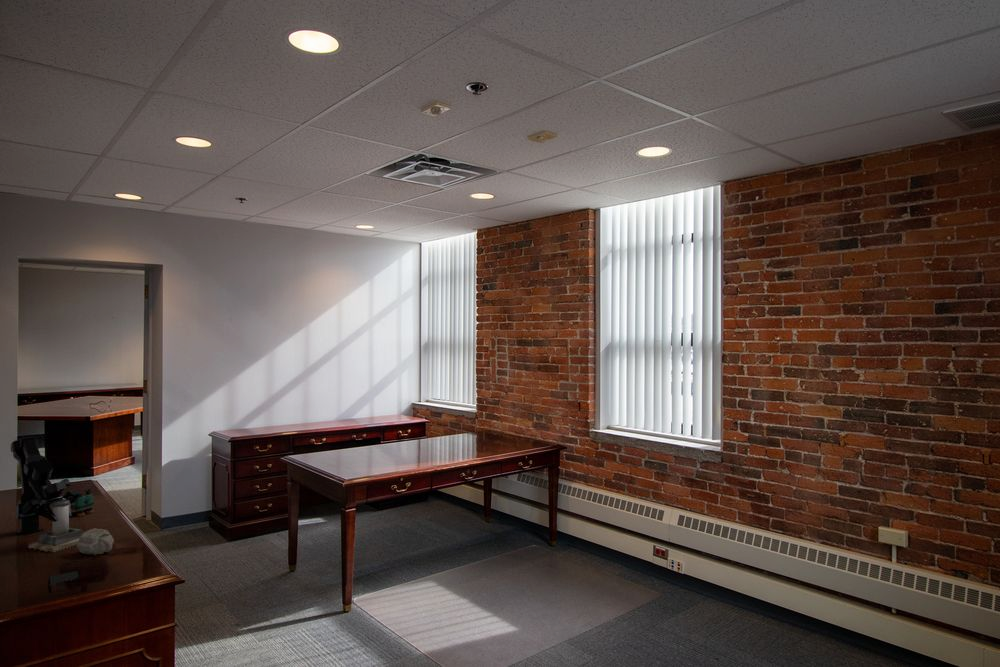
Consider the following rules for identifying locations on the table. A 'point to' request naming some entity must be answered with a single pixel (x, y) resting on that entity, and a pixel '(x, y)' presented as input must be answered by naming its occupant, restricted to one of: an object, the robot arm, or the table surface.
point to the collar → (56, 540)
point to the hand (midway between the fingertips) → (63, 519)
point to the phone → (63, 577)
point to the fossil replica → (95, 541)
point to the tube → (61, 517)
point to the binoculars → (83, 504)
